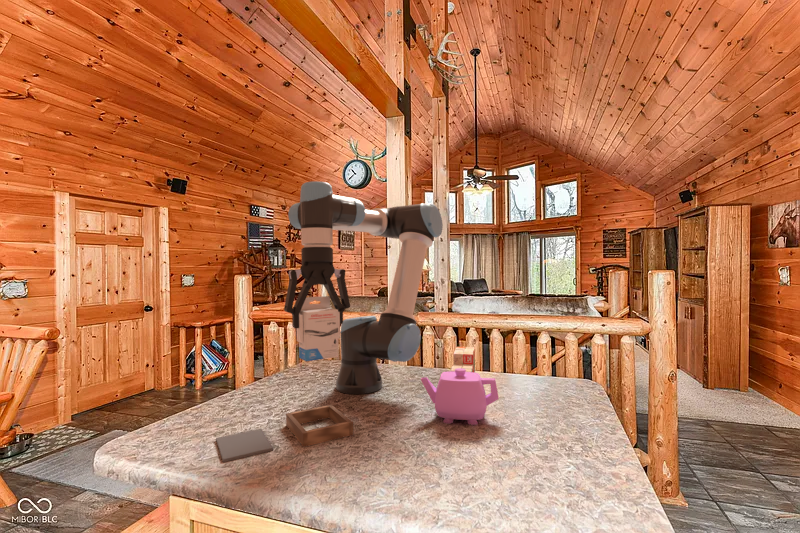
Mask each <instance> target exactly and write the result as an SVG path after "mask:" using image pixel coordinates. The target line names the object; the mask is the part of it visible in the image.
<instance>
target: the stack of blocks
mask: <svg viewBox="0 0 800 533" xmlns="http://www.w3.org/2000/svg"><path fill="white" fill-rule="evenodd" d="M457 368H463V369H465V370H466V372H474V373H476V348H475V347H474V346H456V347H455V350H454V352H453V364H452V366H451V368H450V371H455V369H457Z"/></svg>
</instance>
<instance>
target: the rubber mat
mask: <svg viewBox="0 0 800 533" xmlns="http://www.w3.org/2000/svg"><path fill="white" fill-rule="evenodd" d="M215 442H216V444H217V447H218V450H219V454H220V457H221V460H222V463H227V462H230V461H234V460H238V459H239V460H240V459H242V458H246V457H247V458H248V457H252V456H255V455H259V454H264V453H267V452H271V451H274V446H273V445H272V443H271V441H270V440H269V438H268V436H267V435H266V434H265V432H264V430H263V429H262V428H257V429H252V430H247V431H244V432H238V433H234V434H229V435H223V436H219V437H216V438H215Z"/></svg>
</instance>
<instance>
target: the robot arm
mask: <svg viewBox="0 0 800 533" xmlns="http://www.w3.org/2000/svg"><path fill="white" fill-rule="evenodd" d="M333 192H334V191H333V188H332V184H330V183H328V182H326V181H318V180H317V181H308V182H307V181H306V182H304V183H302V185H301V187H300V198H299V202H296V203H294V204H292V205H291V206H290V207H289V209H288V214H287V215H288V220H289V223H290V225H291V226H293V228H295V229H298V230H301V231H300V236H301V237H300V239H301V242H300V243H301V246H303V247H302V248H301V250H300V252H301V253H300V254H301V266H300V268H299V269H295V270H292V269H291V270H289V271H288V280H289V281H288V286H287V290H286V297H285V300H284V301H285V303H284V308H283V311H284V312H286V313H289V314H291V316H292V317H291V318H292V324H291V325H292V328H294V329H296V342H298V343H299V342H300V343H302V342H303V315H302V314H299V313H300V311H301V308H302V306H303V304H304V302H305V299H306V297H308V295H309V292H310V289H312V287H313V286H318V285H321V286H324V289H325V290H326V292H327V294H328V296H329V297H330V301H331V302H332V304H333V307H334V309H337V310H338V339H340V357H341V358H340V359H341V360H340V362H341V363H340V366H339V370H338V374H337V376H336V381H335V389H336V391H338V392H339V393H343V394H347V395H348V394H349V395H364V394H370V393H375V392H377V391H380V390H381V389H382V388H383V379H382V375H381V372H380V369H379V367H378V364H377V363H378V360H377V359H380V360H385V361H391V362H395V363H397V362H403V363H405V362H408V361H410V360H412V358H414V357H415V356H416V354H417V353H418V350H419V347H420V345H421V339H422V336H421V329H420V328H419V326H417V319H416V318H415V316H414V312H415V307H416V302H417V299H418V293H419V289H420V284H421V278H422V274H423V269H424V264H425V259H426V254H427V249H428V248H430V247H432V246H433V244H434V243H433V242H434V239H435V238H438V237H440V236H441V235H442V234H443V218H442V216H441V215H442V214H441V211H440V209H439V208H438V207H437V205H435V204H434V203H430V202H429V203H427V202H426V203H424V202H422V203H418V204H409V205H398V206H393V207H392V206H391V207H387V208H378V207H377V208H376V207H375V208H372V209H366V207H365V205H364V203H363V202H362V201H361V200H359V199H357V198H354V197H351V196H350V197H348V196H343V195H338V194H333ZM333 231H345V232H360V233H368V234H369V235H371V236H375V237H382V238H388V239H396V240H399V241H400V242H401V247H400V251H399V254H398V255H399V256H398V260H397V264H396V269H395V273H394V277H393V281H392V286H391V290H390V293H389V298H388V303H387V306H386V309H385V310H384V311H382V312H381V313H380V316H379V319H377V316H376V315H366V316H365V315H364V316H358V317H356V316H355V317H351V318H345V319H344V311H345V310H346V309H349V308H351V304H350V298H349V293H348V288H347V284H346V283H347V282H346V277H345V276H346V270H345V269H341V268H339V269H338V268H335V266H334V249H333V248H332V247H331V246H333V244H334V239H333V237H334V236H333V234H334V233H333ZM300 275H301V276H302V277H303V279H304V281H303V283H302V286H301V288H300V291H299V293H298V295H297V298H296V300H295V296H296V292H297V291H296V290H297V285H298V279H299V278H300ZM333 275H334V277H335V278H336V282H337V287H338V292H339V295H338V292H337V291H336V289H335V287H334V283H333V282H332V277H333ZM294 300H295V301H294ZM377 320H378V321H377Z"/></svg>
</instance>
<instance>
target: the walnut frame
mask: <svg viewBox="0 0 800 533" xmlns="http://www.w3.org/2000/svg"><path fill="white" fill-rule="evenodd" d="M327 419H329V420H331V421H332V422H333V423H334V424H330V425H327V426H322V427H318V428H312V429H309V430H306V429H305V428H304V427H303V425H302V423H304V424H308V423H311V422H312V421H313V422H317V421H321V420H327ZM307 422H308V423H307ZM285 426H286V428H289V429H290V430H289V429H288V430H289V431H290V432H291V434H292V433H293V434H294V435H295V436H294V435H293V434H292V435H293V436H294V438H295V439H296V438H297V439H296V440H297V442H299V444H300V443H301V444H300V445H301V446H302V448H305V447H309V446H312V445H317V444H321V443H326V442H329V441H335V440H338V439H342V438H345V437H350V436H353V435H354V421H352V420H351V419H350V418H348V417H347V416H346V415H345V413H344V414H343V413H342V412H341V411H340V410H339V409H337V407H335V406H333V405H332V404H328V405H323V406H317V407H313V408H308V409H303V410H298V411H292V412H288V413H285Z"/></svg>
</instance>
